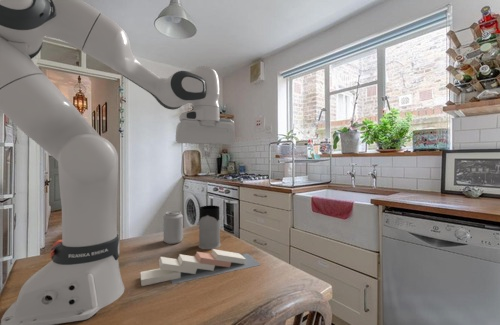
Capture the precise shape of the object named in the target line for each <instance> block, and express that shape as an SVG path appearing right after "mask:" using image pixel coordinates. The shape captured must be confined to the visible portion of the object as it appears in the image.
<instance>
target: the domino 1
mask: <svg viewBox="0 0 500 325" xmlns="http://www.w3.org/2000/svg"><path fill="white" fill-rule="evenodd" d="M177 278H181V272H177V271H170V270H162V269H160V267H159V268H155V269H149V270H143V271H140V284H141V287H144V286H148V285H153V284H157V283H158V284H159V283H162V282H168V281H171V280H173V279H177Z"/></svg>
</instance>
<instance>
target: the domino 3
mask: <svg viewBox="0 0 500 325" xmlns="http://www.w3.org/2000/svg"><path fill="white" fill-rule="evenodd" d="M177 259H178V261H179V263H180V265H181V266H183V267H190V268H197V269H204V270H211V271H214V267H215V265H209V264H202V263H199V262H198V260H197V259H196V258H195V256H194V255H188V254H187V255H186V254H182V253H179V254H178V257H177Z"/></svg>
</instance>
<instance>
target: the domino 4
mask: <svg viewBox="0 0 500 325" xmlns="http://www.w3.org/2000/svg"><path fill="white" fill-rule="evenodd" d="M194 257H195V258H196V259H197V260H198V262H199V263H202V264H209V265H216V266H223V267H230V265H231V262H227V261H220V260H216V259H215V258H214V257H213V256H212V255H211V253H208V252H203V251H202V252H201V251H196V253H195V256H194Z"/></svg>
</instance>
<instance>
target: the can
mask: <svg viewBox="0 0 500 325" xmlns="http://www.w3.org/2000/svg"><path fill="white" fill-rule="evenodd" d="M183 239H184V216H183V214H182V211H180V210H169V211H166V212H164V216H163V241H164V242H165V244H168V245H175V244H179V243H181V241H182V240H183Z"/></svg>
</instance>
